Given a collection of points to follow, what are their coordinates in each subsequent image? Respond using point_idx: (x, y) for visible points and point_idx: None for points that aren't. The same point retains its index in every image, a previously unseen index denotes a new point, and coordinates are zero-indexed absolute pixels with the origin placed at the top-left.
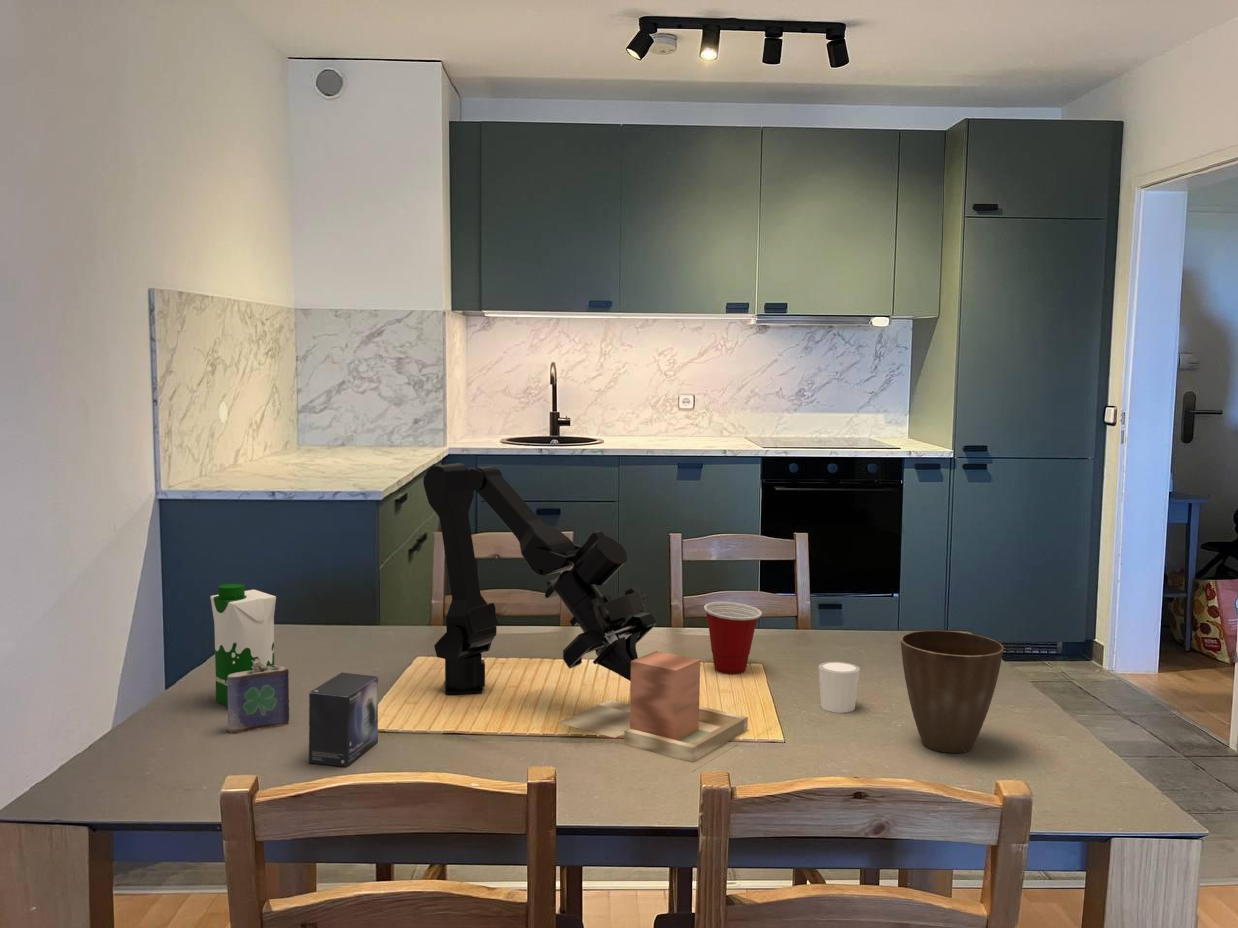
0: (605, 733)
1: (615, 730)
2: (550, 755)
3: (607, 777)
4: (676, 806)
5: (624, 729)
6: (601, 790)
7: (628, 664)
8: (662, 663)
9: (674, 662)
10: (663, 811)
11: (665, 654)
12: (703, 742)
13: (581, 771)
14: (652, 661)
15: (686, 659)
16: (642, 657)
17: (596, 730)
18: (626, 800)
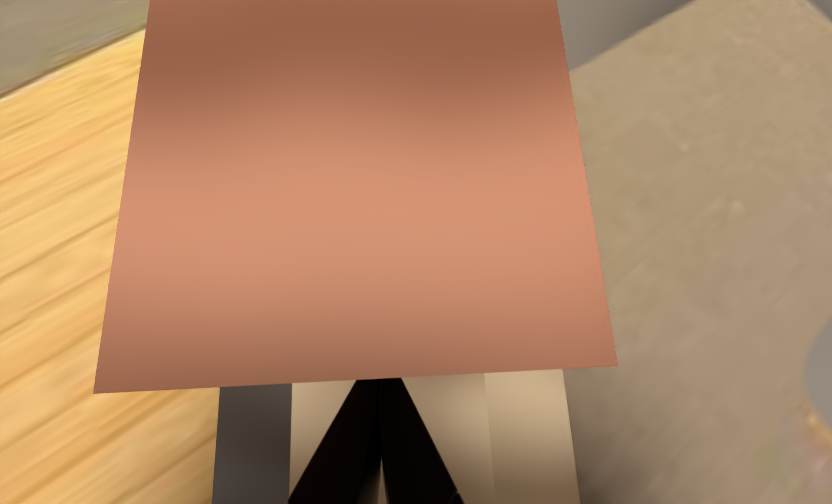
0: (553, 420)
1: (501, 411)
2: (760, 492)
3: (731, 230)
4: (717, 16)
5: (469, 391)
6: (800, 190)
7: (456, 497)
8: (461, 87)
9: (366, 30)
10: (758, 23)
11: (171, 229)
12: None
13: (762, 315)
14: (471, 188)
15: (218, 3)
16: (421, 353)
17: (553, 474)
18: (787, 111)
